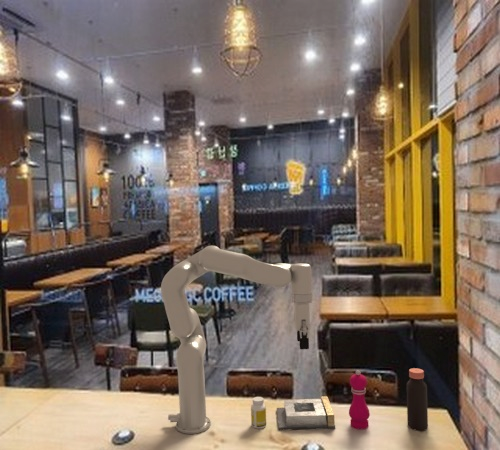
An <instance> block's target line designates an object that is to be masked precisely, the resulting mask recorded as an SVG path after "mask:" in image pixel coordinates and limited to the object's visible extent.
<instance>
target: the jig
mask: <svg viewBox="0 0 500 450" xmlns="http://www.w3.org/2000/svg"><path fill="white" fill-rule="evenodd" d="M329 399H330V398H329V397H328V396H327V395H325V396H323V395H322V396H320V398H305V399H304V398H301V399H298V398H297V399H283V402H284V405H283V406H284V407H276V416H277V417H276V418H277V426H278V431H299V430H303V431H304V430H305V431H306V430H333V429H334V430H335V429H336V425H335V421H336V420H335V413H334V411H333V408H332V405H331V402H330V400H329Z"/></svg>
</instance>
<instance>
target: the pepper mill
mask: <svg viewBox="0 0 500 450" xmlns="http://www.w3.org/2000/svg"><path fill="white" fill-rule="evenodd" d="M361 373H362V372H361V371H360V370H359V369H357V370H356V371H355V373H354V374H352V375H351V376H350V378H349V385H350V386H351V388H350V389H351V390H350V391H351V393H352V401H351V403H350V406H349V409H348V415H349V417H350V421H349V422H350V427H352V428H353V429H356V430H365V429H368V428H369V420H368V419H370V415H371V413H370V409H369V407H368V405H367V402H366V399H365V394H366V390H367V389H366V387H367V384H368V380H367V377H366V376H365V375H363V374H361Z"/></svg>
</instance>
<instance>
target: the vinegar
mask: <svg viewBox="0 0 500 450" xmlns="http://www.w3.org/2000/svg"><path fill="white" fill-rule="evenodd" d="M408 377H409V380H408V381H407V382H406V416H407V426H408V427H409V428H410V429H411V430H413V431H417V432H418V431H420V432H423V431H426V430H427V429H428V428H429V423H428V422H429V421H428V420H429V419H428V417H429V416H428V385H427V383H426V382H425V381H424V379H425V371H424V370H423V369H421V368H418V367H417V368H415V367H413V368H410V369H409V370H408Z"/></svg>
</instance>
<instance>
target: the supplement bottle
mask: <svg viewBox="0 0 500 450" xmlns="http://www.w3.org/2000/svg"><path fill="white" fill-rule="evenodd" d="M264 401H265V400H264V398H263V397H262V396H255V397H253V398H252V404H251V406H250V418H251V419H250V420H251V422H250V423H251V427H252V428H253V429H256V430H257V429H259V430H260V429H263V428H265V427H266V426H267V408H266V404H265V403H264Z"/></svg>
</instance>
